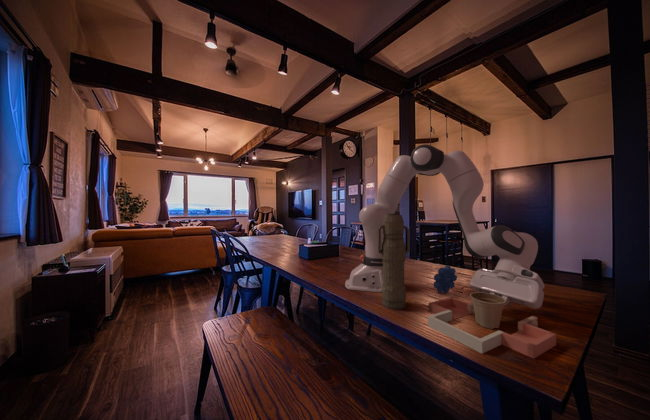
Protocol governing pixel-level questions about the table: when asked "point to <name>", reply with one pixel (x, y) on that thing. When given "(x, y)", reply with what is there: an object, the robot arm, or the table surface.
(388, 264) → the thermos
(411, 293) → the table surface
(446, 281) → the grapes
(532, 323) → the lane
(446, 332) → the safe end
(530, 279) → the robot arm
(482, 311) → the flower pot
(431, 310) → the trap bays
